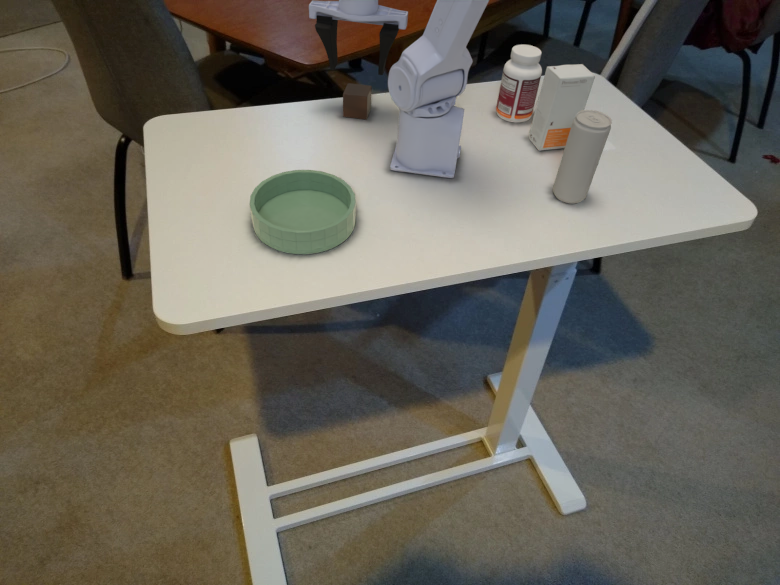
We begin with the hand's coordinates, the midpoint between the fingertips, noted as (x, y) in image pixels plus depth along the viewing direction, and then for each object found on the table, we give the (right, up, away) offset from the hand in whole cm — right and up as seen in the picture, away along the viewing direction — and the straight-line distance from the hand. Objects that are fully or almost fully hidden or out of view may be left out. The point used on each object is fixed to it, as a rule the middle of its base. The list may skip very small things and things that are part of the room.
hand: (357, 69), depth 90 cm
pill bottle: (+26, -5, +8) cm, 28 cm away
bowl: (-6, -26, -16) cm, 31 cm away
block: (0, -5, +5) cm, 7 cm away
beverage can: (+31, -21, -8) cm, 38 cm away
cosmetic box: (+31, -11, +2) cm, 33 cm away
